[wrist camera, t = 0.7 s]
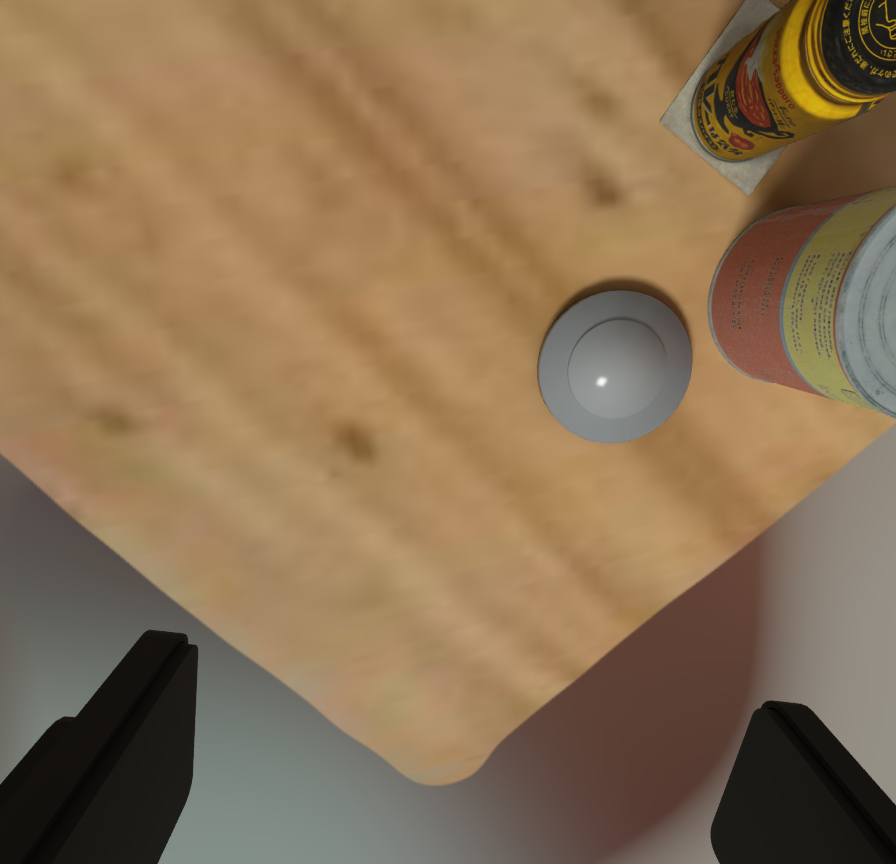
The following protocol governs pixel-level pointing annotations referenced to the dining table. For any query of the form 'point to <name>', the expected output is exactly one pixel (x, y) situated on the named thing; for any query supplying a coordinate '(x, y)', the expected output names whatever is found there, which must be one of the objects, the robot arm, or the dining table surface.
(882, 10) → the condiment
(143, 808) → the robot arm
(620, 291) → the saucer
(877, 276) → the canned food
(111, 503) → the dining table surface
